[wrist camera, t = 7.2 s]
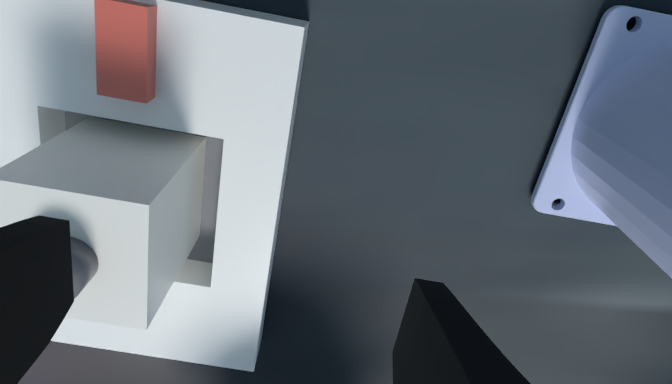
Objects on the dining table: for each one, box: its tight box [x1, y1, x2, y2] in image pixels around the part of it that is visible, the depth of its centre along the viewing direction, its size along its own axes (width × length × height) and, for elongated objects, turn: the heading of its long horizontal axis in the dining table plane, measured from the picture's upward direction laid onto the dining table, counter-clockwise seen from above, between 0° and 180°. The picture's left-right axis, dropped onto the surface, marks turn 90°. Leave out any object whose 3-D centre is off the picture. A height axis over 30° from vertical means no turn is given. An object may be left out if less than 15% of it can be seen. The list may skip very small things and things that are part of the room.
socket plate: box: [0, 0, 309, 372], centre depth 19 cm, size 11×15×3 cm
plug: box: [0, 117, 207, 330], centre depth 16 cm, size 4×4×7 cm
